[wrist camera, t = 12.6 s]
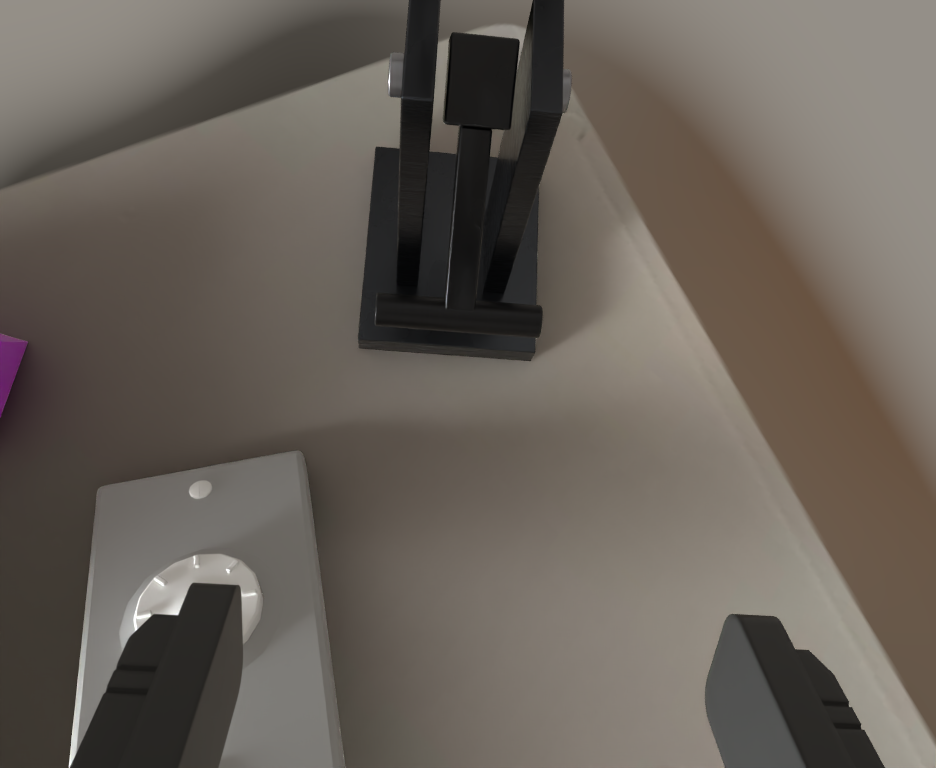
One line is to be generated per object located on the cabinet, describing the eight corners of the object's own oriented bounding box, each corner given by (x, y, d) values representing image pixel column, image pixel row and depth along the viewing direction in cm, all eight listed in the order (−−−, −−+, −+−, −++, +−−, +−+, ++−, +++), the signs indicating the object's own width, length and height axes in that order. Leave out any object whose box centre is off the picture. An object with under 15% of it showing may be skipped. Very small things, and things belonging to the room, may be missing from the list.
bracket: (531, 361, 39) (611, 197, 25) (358, 348, 39) (343, 173, 25) (535, 174, 42) (609, -65, 28) (376, 159, 42) (370, -91, 28)
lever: (533, 329, 32) (542, 346, 30) (376, 317, 32) (372, 333, 29) (567, 50, 29) (579, 45, 27) (393, 31, 29) (390, 25, 26)
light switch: (299, 432, 35) (342, 778, 25) (318, 517, 40) (363, 844, 29) (88, 471, 34) (44, 851, 24) (131, 554, 38) (109, 910, 28)
